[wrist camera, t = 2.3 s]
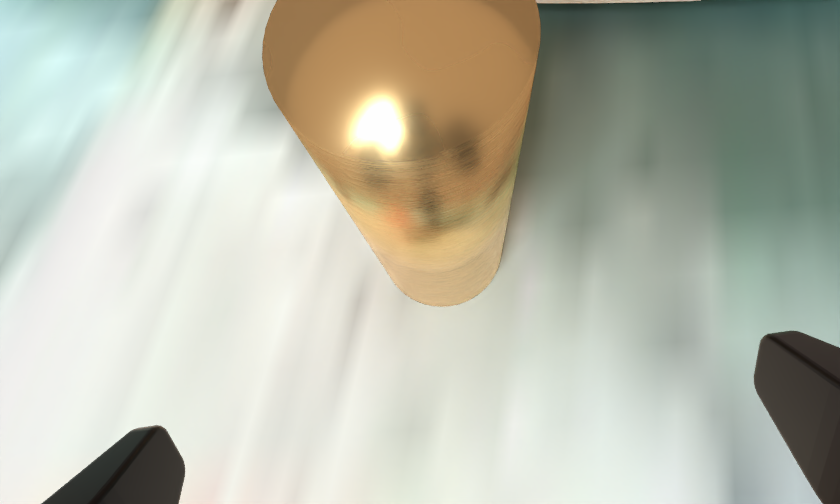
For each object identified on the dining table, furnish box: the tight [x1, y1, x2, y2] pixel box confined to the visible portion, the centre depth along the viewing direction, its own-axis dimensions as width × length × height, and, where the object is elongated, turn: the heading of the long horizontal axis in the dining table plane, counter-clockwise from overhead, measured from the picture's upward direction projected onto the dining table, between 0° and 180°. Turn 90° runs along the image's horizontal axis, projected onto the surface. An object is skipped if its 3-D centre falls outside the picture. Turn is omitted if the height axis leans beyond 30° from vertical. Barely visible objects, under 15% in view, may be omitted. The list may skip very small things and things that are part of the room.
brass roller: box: [262, 0, 541, 307], centre depth 15 cm, size 5×5×13 cm
